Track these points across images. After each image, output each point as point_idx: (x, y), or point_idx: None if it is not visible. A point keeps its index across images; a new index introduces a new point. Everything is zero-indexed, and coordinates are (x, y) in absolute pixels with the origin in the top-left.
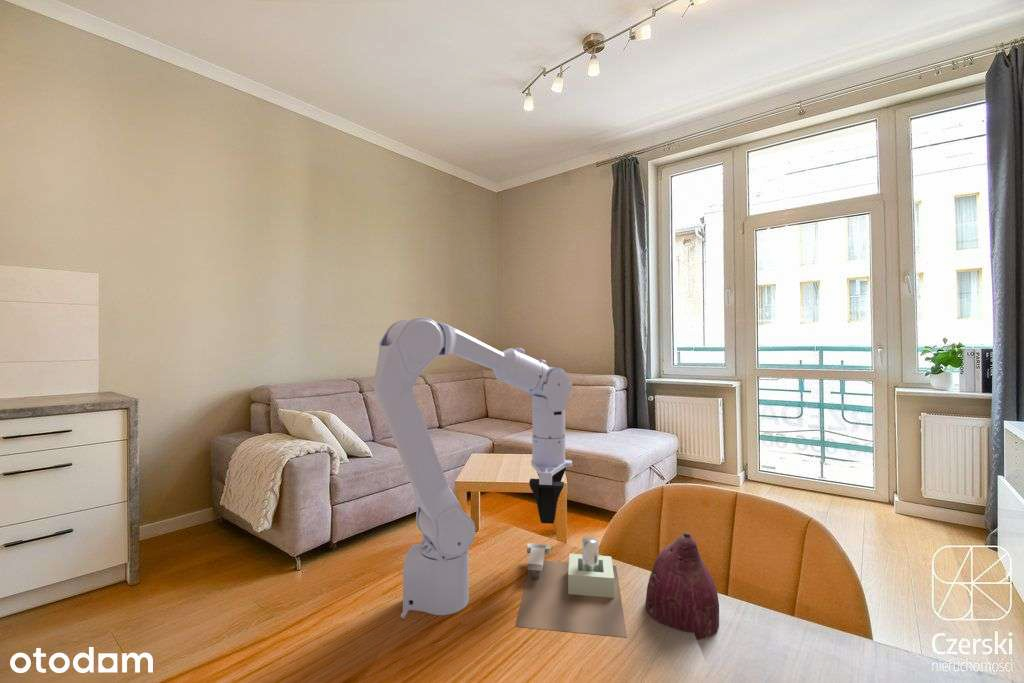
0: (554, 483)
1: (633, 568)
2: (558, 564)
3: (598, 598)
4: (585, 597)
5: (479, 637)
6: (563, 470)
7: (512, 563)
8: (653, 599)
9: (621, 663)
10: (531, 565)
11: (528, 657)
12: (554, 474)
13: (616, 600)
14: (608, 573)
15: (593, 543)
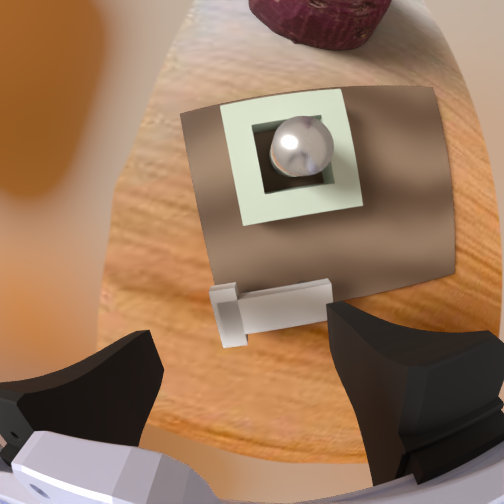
0: (458, 412)
1: (157, 85)
2: (222, 253)
3: None
4: None
5: (456, 314)
6: (36, 404)
7: (232, 352)
8: (373, 22)
9: (459, 103)
10: None
11: (481, 235)
12: (83, 433)
13: None
14: (323, 102)
15: (325, 131)
